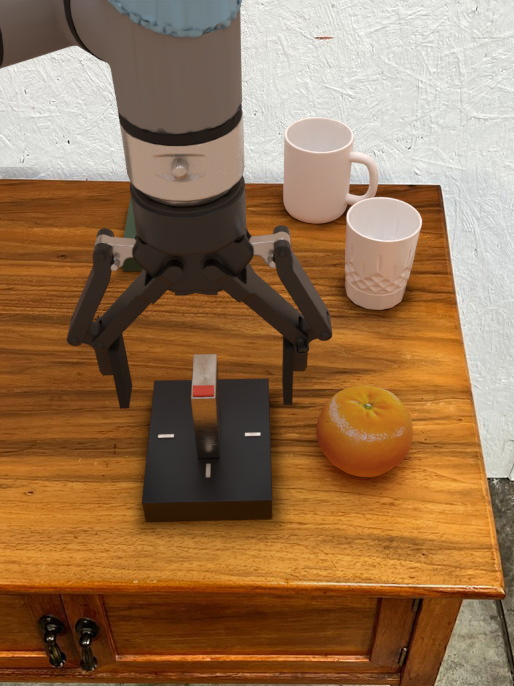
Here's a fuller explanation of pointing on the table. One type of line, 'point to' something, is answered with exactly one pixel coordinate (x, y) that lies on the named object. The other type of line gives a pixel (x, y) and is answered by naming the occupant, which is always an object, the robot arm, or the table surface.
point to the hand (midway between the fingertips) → (207, 395)
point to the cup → (321, 169)
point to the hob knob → (206, 405)
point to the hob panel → (209, 473)
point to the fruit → (364, 430)
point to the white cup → (380, 251)
